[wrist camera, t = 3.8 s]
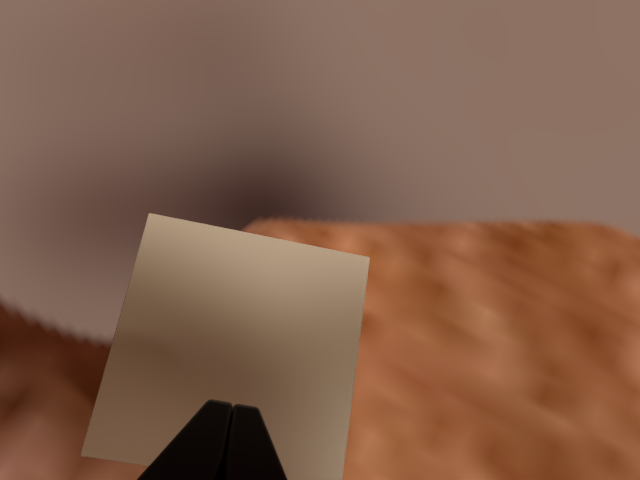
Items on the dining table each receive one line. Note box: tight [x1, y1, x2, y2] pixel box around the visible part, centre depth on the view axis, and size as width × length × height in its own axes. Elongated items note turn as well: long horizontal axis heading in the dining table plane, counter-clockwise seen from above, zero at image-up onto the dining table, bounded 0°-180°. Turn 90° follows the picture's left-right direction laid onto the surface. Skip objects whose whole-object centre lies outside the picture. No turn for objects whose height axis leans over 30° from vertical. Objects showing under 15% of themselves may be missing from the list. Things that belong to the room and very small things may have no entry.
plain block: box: [80, 213, 370, 480], centre depth 15 cm, size 5×5×8 cm
